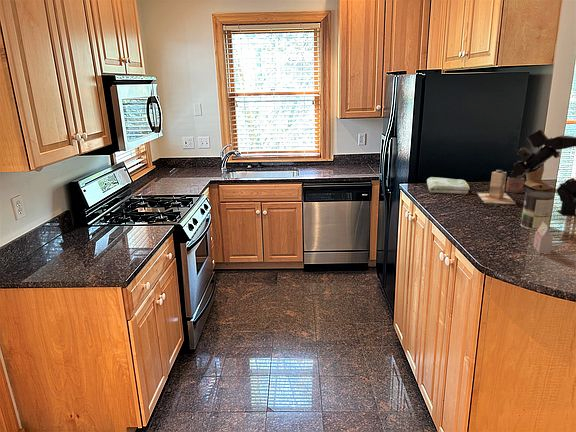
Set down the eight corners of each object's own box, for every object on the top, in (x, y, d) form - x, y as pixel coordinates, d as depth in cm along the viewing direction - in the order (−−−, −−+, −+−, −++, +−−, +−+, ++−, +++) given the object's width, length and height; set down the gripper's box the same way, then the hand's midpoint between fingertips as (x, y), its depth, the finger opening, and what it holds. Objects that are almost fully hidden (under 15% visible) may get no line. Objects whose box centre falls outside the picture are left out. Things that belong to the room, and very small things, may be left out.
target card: (515, 204, 211) (516, 202, 211) (485, 203, 213) (485, 201, 213) (505, 194, 228) (505, 193, 227) (477, 193, 230) (477, 192, 230)
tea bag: (544, 247, 159) (548, 221, 156) (550, 254, 153) (554, 228, 150) (533, 247, 160) (537, 221, 157) (538, 254, 154) (543, 227, 151)
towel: (470, 194, 230) (471, 185, 229) (428, 193, 235) (429, 184, 233) (464, 186, 247) (465, 177, 246) (426, 185, 252) (426, 176, 250)
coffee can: (517, 227, 180) (522, 194, 175) (523, 221, 187) (528, 189, 183) (545, 232, 174) (551, 198, 169) (550, 225, 181) (556, 193, 177)
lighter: (505, 191, 233) (508, 173, 230) (505, 190, 236) (508, 172, 233) (522, 193, 230) (525, 174, 227) (522, 191, 233) (525, 173, 230)
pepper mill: (498, 199, 217) (502, 171, 213) (488, 197, 221) (492, 170, 216) (503, 197, 220) (506, 170, 216) (493, 195, 224) (497, 168, 219)
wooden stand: (518, 184, 248) (522, 158, 243) (540, 184, 246) (545, 158, 241) (526, 190, 234) (531, 163, 229) (550, 191, 232) (555, 163, 227)
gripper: (539, 140, 207) (513, 160, 219) (520, 144, 196) (494, 165, 208) (554, 158, 203) (527, 178, 215) (536, 164, 193) (508, 184, 204)
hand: (514, 175), depth 211 cm, fingers open, 9 cm apart
